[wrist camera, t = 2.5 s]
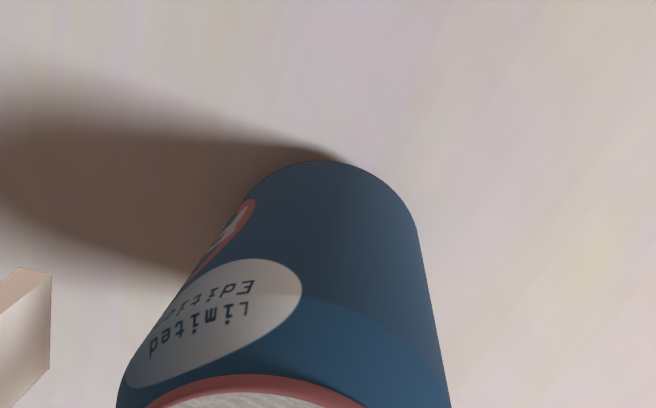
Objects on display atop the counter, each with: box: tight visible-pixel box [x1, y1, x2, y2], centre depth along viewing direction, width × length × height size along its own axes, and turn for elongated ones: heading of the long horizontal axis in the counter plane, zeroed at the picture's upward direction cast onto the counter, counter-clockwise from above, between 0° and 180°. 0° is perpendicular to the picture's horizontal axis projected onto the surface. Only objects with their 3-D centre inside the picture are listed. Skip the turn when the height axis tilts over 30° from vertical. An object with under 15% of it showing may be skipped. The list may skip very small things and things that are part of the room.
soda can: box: [116, 161, 451, 408], centre depth 14 cm, size 7×7×12 cm
